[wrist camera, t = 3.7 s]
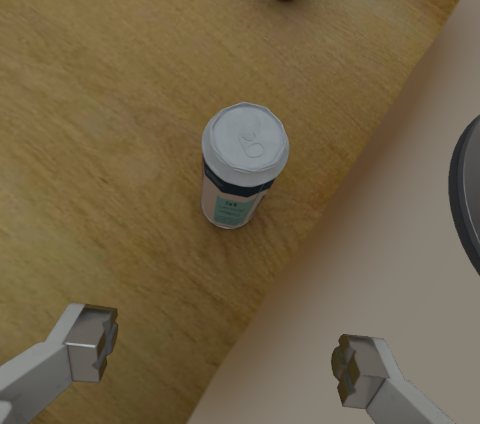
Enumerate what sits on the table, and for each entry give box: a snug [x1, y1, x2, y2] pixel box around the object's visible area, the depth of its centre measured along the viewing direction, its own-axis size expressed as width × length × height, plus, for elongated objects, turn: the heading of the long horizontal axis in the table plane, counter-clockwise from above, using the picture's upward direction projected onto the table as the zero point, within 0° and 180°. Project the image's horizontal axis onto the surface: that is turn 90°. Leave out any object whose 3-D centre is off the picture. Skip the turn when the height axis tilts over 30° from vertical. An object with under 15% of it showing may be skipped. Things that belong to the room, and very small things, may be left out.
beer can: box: [201, 102, 289, 229], centre depth 22 cm, size 5×5×12 cm
